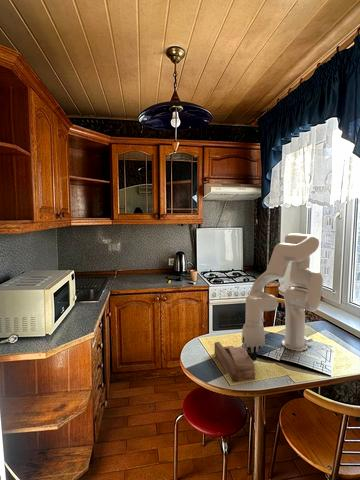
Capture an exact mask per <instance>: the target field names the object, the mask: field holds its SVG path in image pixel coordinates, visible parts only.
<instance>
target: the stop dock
mask: <svg viewBox="0 0 360 480" xmlns="http://www.w3.org/2000/svg"><path fill="white" fill-rule="evenodd" d="M234 347H235V346H234V345H230V346H223V345H222V343H221V342H220V341H217V342H214V355H215V356H216V358H217V359H218V361H219V363H220V364H221V366H222V367H223V369H224V370H225V372H226V374H227V375H228V377H229V378H230V380H231V381H232V383H239V382H245V381H246V382H247V381H251V380H255V379H256V372H255V369H254V370H249V371H242V372H239V368H238V366H237V365H236V364H235V362H234V361H233V360H232V358H231V357H230V356H229V348H234Z"/></svg>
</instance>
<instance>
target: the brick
mask: <svg viewBox="0 0 360 480" xmlns="http://www.w3.org/2000/svg"><path fill="white" fill-rule="evenodd" d="M229 356H230V357H231V358H232V360H233V361H234V362H235V364H236V365H237V366H238V368H239V372H242V371H249V370H254V371H255V364H254V361H253V360H252V359H251V358H250V354H248V351H247V349H244V348H243V346H234V348H229Z"/></svg>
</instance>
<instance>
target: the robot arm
mask: <svg viewBox="0 0 360 480" xmlns="http://www.w3.org/2000/svg"><path fill="white" fill-rule="evenodd" d="M319 247H320V240H319V238H318V237H317V236H316V235H313V234H306V233H305V234H304V233H303V234H302V233H289V234H287V235H286V236H284V242H282V243H278V244H276V245H275V246H274V248H273V250H272V254H271V255H270V256H271V257H270V259H269V262H268V265H267V268H266V270H265V271H264V272H263V273H261V274H260V275H259V276H258V277H257V278H256V279H255V281H253V284H252V285H251V286H252V287H251V289H250V292H249V295H248V296H246V297H245V323H244V324H243V326H242V332H241V344H242V347H243V348H244V349H246V350H248V351H249V357H250V359H251V360H252V362H254V361H257V358H258V353H259V350H260V349H261V348H263V347H265V342H266V336H265V335H266V334H265V327H264V324H263V322H264V323H265V318H263V312H272V311H275V310H276V309H277V308H278V307H279V302H280V301H279V299H278V298H277V297H276V296H275V295H273V294H270V293H268V292H264V291H263V290H264V288H265V287H266V285H267V284H269V283H270V282H273V281H276V280H279V279H282V278H284V277H285V274H286V271H287V269H288V265H289V263H290V262H291V266H290V271H289V272H290V273H289V281H290V283H291V284H292V285H295V286H299V287H302V288H303V289H302V288H299V287H295V286H294V287H293V286H290V287H287V288H286V289H285V291H284V293H283V300H284V305H285V306H284V308H285V323H284V324H285V325H284V326H285V327H284V329H285V330H284V332H285V333H284V339H283V340H282V341H281V345H282V347H284V346H285V347H286V348H285V347H284V348H285V349H287V348H288V349H287V350H289V349H291V350H290V351H292V350H296V351H295V352H304V351H303V350H305V351H306V349H307V350H308V343H311V342H313V341H314V340H313V338H312V337H309V338H308V336H306V335H305V333H306V313H305V311H307V312H315V311H317V310H318V309H319V307H320V304H321V300H322V299H321V297H322V292H323V291H322V290H323V286H324V285H323V283H324V278H323V275H322V274H321V272H320V271H318V270H315V269H311V268H310V261H311V258H310V256H311V255H312V254H314V253H316V251H317V250H318V248H319ZM304 288H306V289H304Z"/></svg>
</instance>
